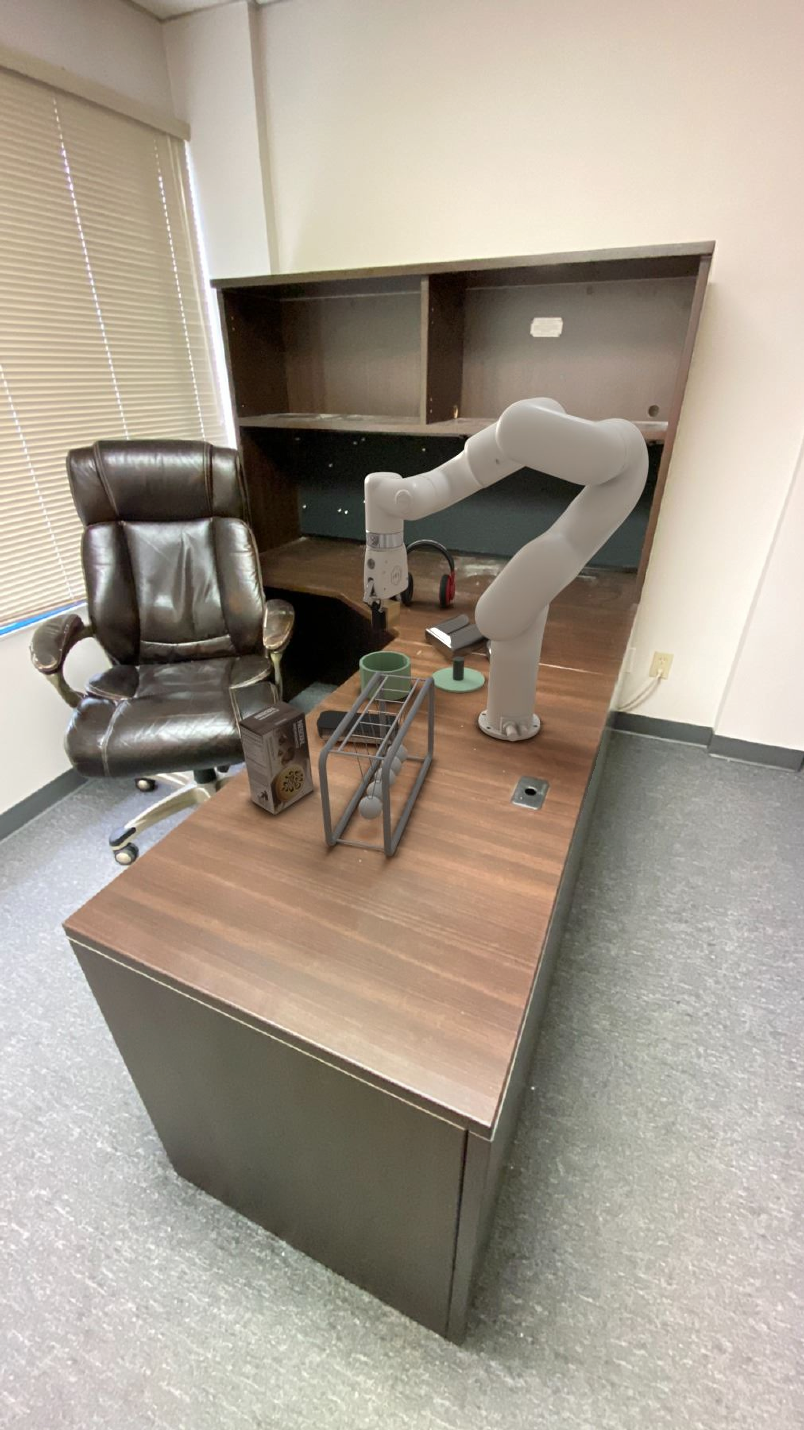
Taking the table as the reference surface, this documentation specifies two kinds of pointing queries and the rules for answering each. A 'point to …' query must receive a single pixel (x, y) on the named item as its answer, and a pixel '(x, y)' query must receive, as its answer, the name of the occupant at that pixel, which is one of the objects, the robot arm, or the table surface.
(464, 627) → the emblem
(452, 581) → the headphones
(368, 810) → the newton's cradle
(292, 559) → the table surface
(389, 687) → the pot
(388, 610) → the block
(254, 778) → the coffee box
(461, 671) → the cover
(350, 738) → the black sponge
